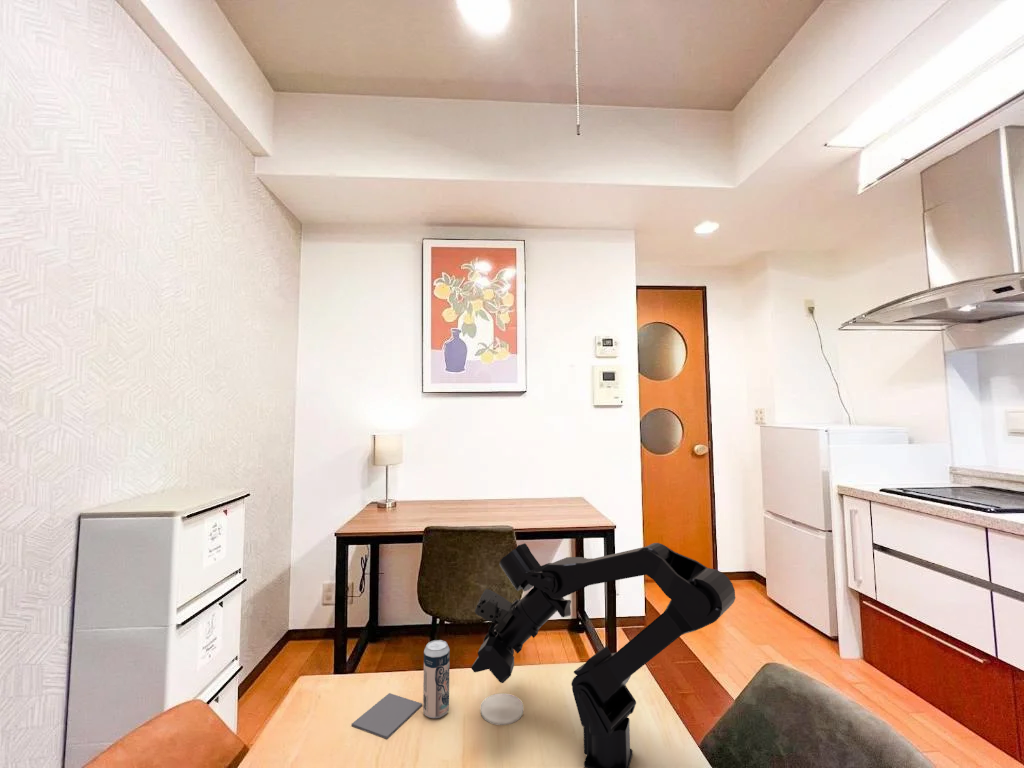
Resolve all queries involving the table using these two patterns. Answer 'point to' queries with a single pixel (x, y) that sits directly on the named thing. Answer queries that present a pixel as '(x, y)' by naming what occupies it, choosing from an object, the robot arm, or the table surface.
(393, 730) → the mat
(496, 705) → the coaster
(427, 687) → the beer can
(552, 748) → the table surface
